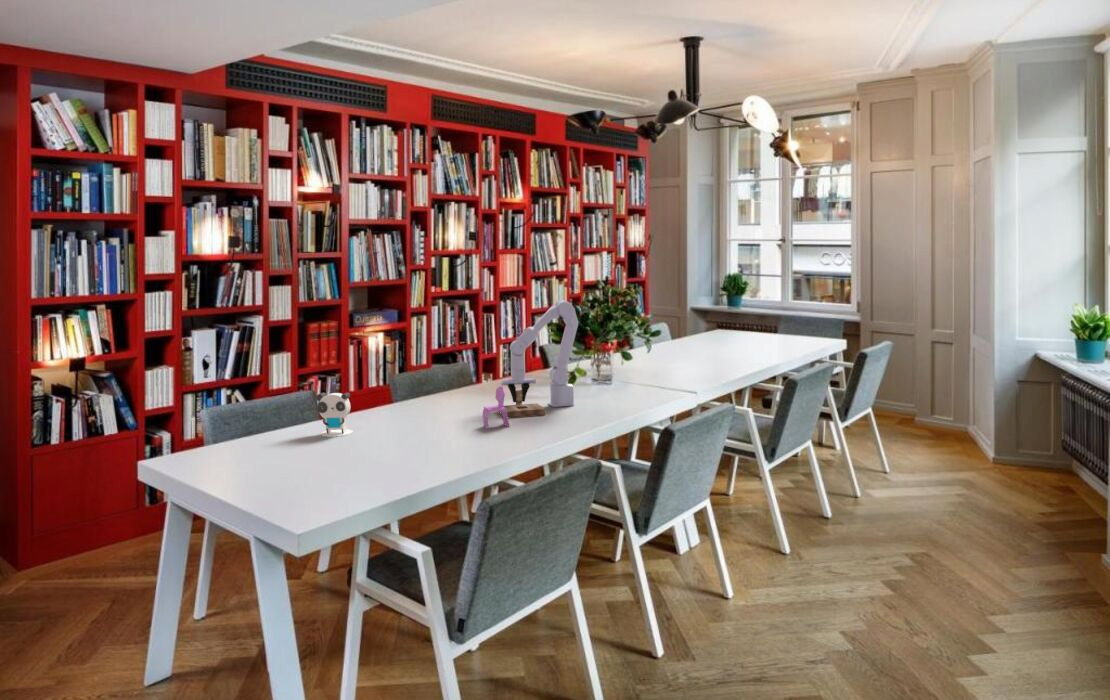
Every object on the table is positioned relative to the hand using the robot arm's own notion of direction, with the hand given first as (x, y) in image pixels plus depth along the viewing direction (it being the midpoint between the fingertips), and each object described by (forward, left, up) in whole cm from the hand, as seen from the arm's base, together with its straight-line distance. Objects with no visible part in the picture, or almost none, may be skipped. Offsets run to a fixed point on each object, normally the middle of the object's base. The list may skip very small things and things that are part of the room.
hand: (518, 401), depth 341 cm
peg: (0, 0, -2) cm, 2 cm away
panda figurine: (+75, +22, -3) cm, 78 cm away
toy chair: (+17, +32, -3) cm, 36 cm away
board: (+2, +13, -2) cm, 13 cm away
